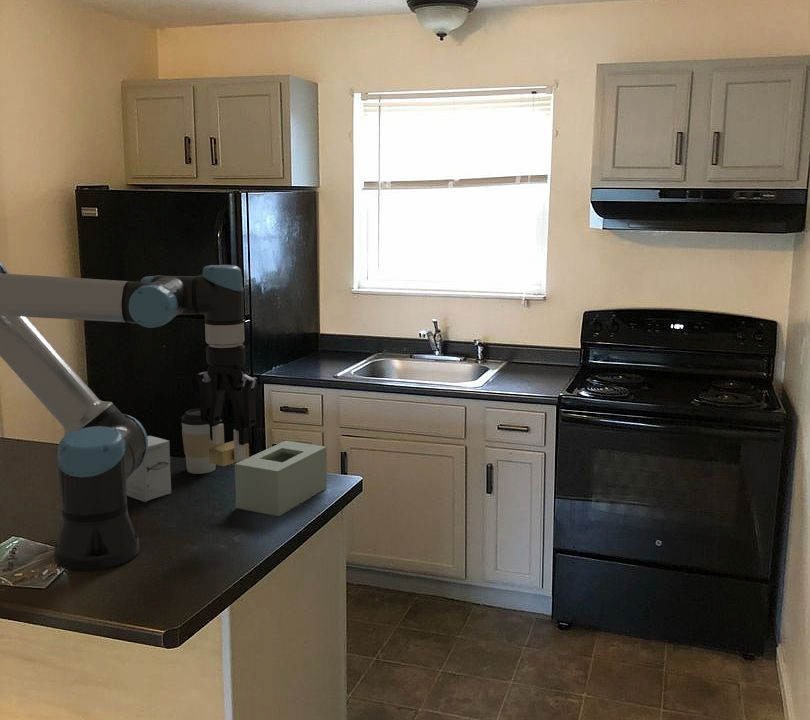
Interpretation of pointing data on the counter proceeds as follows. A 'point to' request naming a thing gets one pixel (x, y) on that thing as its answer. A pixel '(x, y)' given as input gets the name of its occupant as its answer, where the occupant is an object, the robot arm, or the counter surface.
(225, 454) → the tan wooden block
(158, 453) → the supplement box
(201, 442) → the coffee cup
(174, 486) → the counter surface
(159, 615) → the counter surface
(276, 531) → the counter surface
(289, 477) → the grey box with slot
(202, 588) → the counter surface
